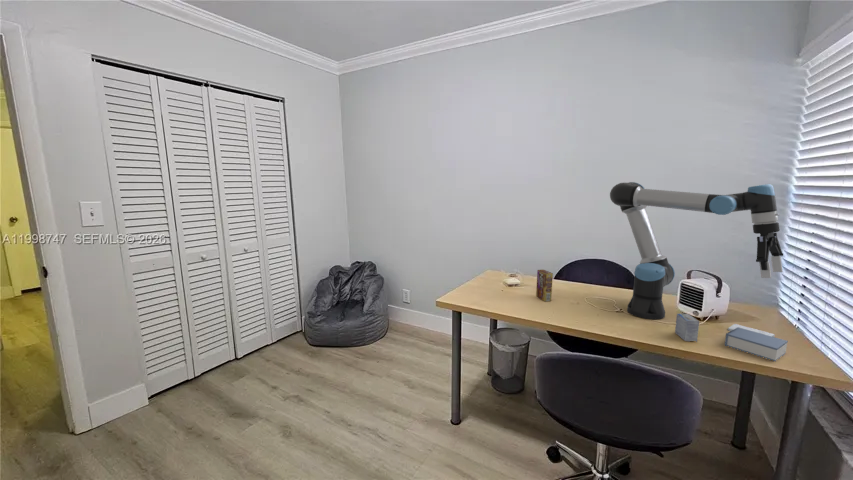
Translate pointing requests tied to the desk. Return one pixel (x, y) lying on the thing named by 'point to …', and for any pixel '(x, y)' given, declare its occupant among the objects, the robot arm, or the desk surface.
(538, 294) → the candy box
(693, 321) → the medicine box
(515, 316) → the desk surface
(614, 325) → the desk surface
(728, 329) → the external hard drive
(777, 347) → the book
